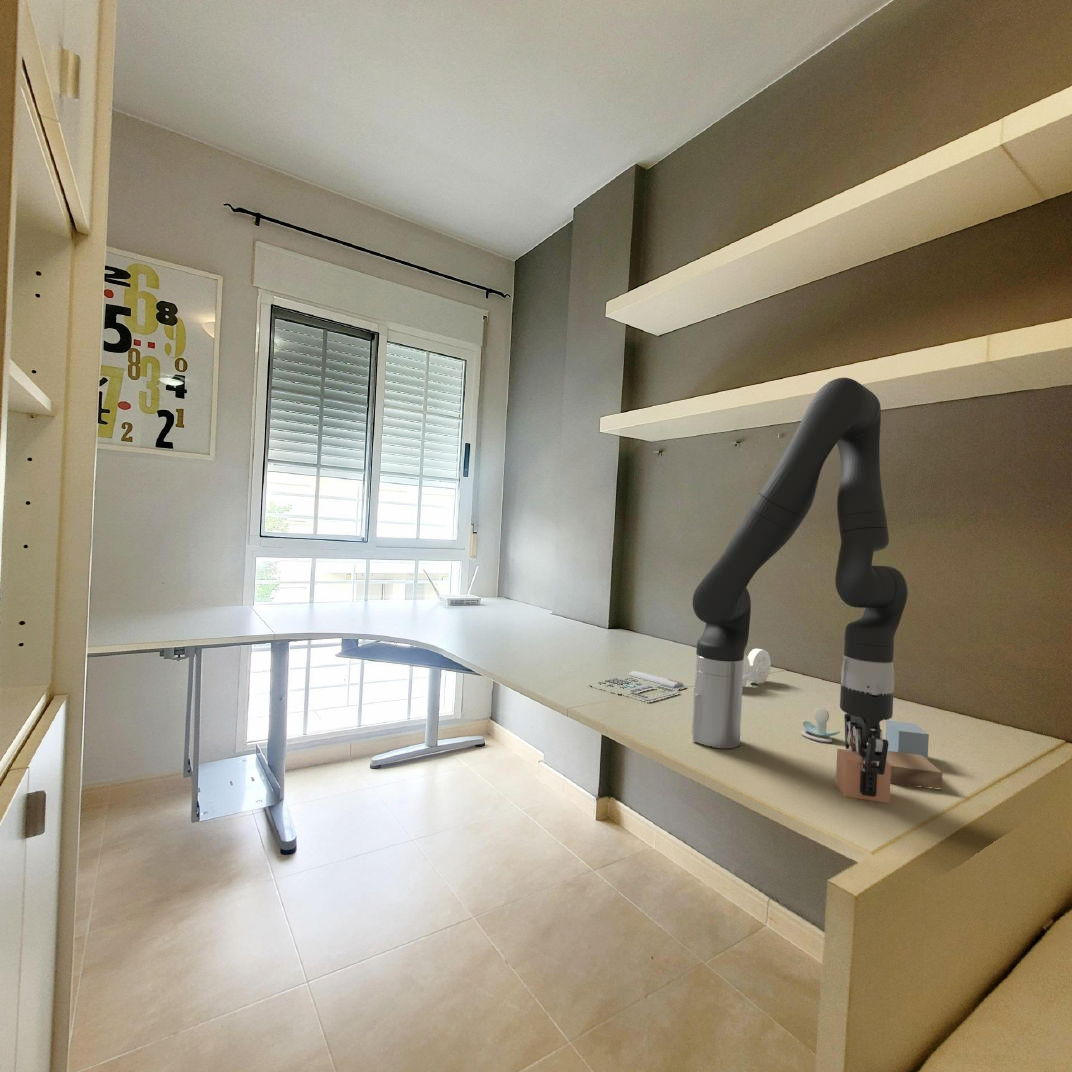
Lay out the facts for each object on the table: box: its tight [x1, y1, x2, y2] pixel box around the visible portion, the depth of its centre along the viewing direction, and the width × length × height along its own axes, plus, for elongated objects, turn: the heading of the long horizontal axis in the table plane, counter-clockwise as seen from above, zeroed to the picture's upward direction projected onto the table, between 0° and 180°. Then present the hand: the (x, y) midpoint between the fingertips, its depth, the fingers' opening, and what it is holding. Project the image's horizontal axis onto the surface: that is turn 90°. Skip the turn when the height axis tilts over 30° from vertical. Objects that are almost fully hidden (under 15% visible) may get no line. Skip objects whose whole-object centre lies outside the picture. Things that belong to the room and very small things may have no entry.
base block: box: [886, 751, 943, 789], centre depth 98 cm, size 8×8×3 cm
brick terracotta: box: [835, 748, 891, 804], centre depth 91 cm, size 6×5×6 cm
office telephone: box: [598, 670, 688, 701], centre depth 150 cm, size 23×3×20 cm
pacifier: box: [800, 707, 841, 743], centre depth 116 cm, size 7×6×6 cm
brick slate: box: [885, 719, 930, 761], centre depth 108 cm, size 6×5×6 cm
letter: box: [743, 648, 772, 688], centre depth 157 cm, size 22×2×10 cm, turn 129°
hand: (862, 787), depth 91 cm, fingers closed on brick terracotta, 5 cm apart
